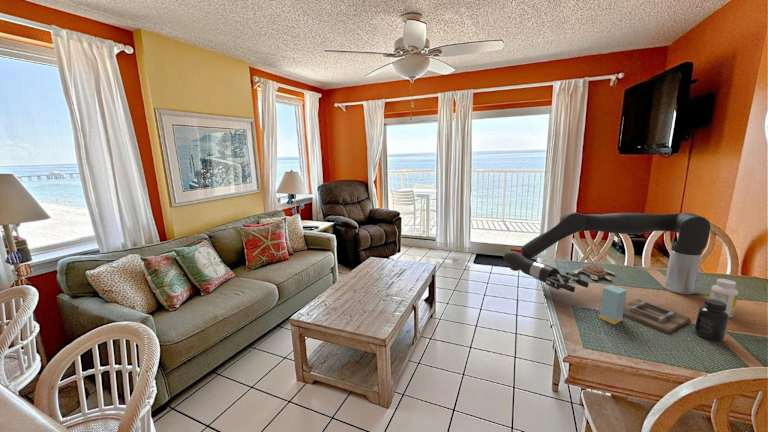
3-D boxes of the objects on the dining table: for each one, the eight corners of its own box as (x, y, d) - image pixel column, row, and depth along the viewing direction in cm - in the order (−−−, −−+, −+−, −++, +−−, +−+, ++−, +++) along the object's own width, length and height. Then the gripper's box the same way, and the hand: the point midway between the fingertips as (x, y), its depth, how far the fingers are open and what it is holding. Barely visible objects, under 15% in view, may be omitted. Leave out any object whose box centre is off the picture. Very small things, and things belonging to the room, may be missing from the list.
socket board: (637, 301, 123) (638, 295, 123) (690, 320, 109) (691, 314, 108) (614, 311, 116) (615, 305, 116) (667, 333, 102) (668, 326, 102)
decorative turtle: (603, 268, 157) (604, 259, 156) (624, 282, 141) (625, 272, 140) (565, 268, 159) (566, 259, 158) (582, 282, 143) (583, 272, 142)
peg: (607, 314, 115) (611, 284, 112) (622, 320, 110) (626, 290, 108) (599, 317, 113) (603, 287, 110) (614, 324, 108) (618, 293, 106)
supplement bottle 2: (730, 343, 97) (738, 308, 94) (704, 341, 98) (712, 307, 95) (712, 330, 103) (719, 298, 101) (688, 328, 105) (695, 296, 102)
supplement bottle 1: (725, 310, 115) (732, 278, 113) (738, 319, 109) (746, 285, 106) (702, 307, 117) (709, 276, 115) (713, 316, 111) (721, 283, 109)
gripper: (533, 268, 130) (570, 282, 116) (555, 262, 136) (593, 275, 122) (532, 284, 132) (568, 300, 118) (553, 277, 138) (591, 292, 124)
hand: (581, 287), depth 120 cm, fingers open, 8 cm apart
